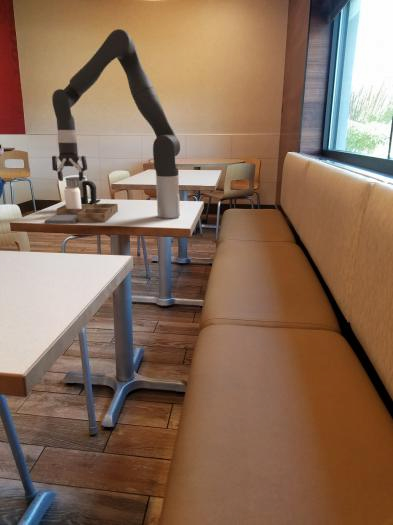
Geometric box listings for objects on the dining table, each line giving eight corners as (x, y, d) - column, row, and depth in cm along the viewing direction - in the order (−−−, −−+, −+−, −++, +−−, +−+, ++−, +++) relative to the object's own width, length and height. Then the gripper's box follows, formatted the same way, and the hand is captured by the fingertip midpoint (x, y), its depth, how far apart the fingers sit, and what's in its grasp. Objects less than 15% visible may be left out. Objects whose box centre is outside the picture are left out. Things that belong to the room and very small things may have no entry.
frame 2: (111, 216, 174) (111, 208, 173) (105, 222, 164) (104, 213, 163) (85, 216, 175) (85, 208, 174) (77, 222, 164) (76, 213, 163)
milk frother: (66, 211, 185) (63, 178, 181) (72, 205, 200) (69, 175, 196) (98, 211, 187) (95, 178, 182) (101, 205, 202) (99, 174, 197)
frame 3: (118, 211, 186) (117, 203, 185) (112, 216, 175) (111, 208, 174) (93, 211, 186) (93, 203, 185) (86, 216, 175) (85, 208, 174)
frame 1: (90, 212, 184) (90, 204, 183) (83, 217, 174) (82, 208, 173) (66, 212, 185) (65, 204, 184) (57, 217, 174) (56, 208, 173)
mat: (83, 217, 173) (83, 214, 173) (74, 223, 162) (74, 220, 161) (56, 217, 174) (55, 214, 173) (44, 223, 162) (44, 220, 162)
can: (77, 216, 176) (75, 188, 172) (64, 215, 177) (61, 187, 173) (84, 213, 182) (82, 186, 178) (71, 212, 183) (68, 185, 179)
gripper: (87, 141, 173) (90, 179, 178) (54, 141, 174) (58, 179, 179) (81, 141, 166) (84, 182, 171) (47, 141, 166) (51, 181, 172)
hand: (71, 180), depth 175 cm, fingers open, 8 cm apart
